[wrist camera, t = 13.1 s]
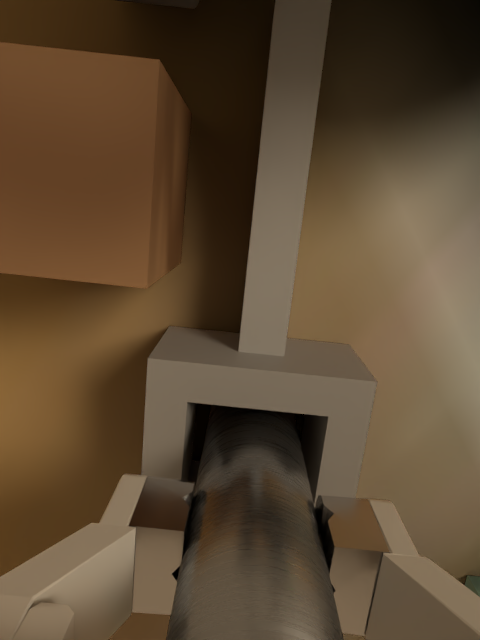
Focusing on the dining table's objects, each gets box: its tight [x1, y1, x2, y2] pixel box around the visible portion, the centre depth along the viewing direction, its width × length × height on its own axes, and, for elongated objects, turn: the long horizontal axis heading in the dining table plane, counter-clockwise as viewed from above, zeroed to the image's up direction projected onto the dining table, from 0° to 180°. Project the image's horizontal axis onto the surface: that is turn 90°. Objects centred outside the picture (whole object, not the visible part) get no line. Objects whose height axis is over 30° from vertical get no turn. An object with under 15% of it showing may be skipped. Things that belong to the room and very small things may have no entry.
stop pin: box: [166, 405, 344, 640], centre depth 9 cm, size 3×3×11 cm
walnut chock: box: [0, 42, 192, 289], centre depth 10 cm, size 4×4×4 cm
